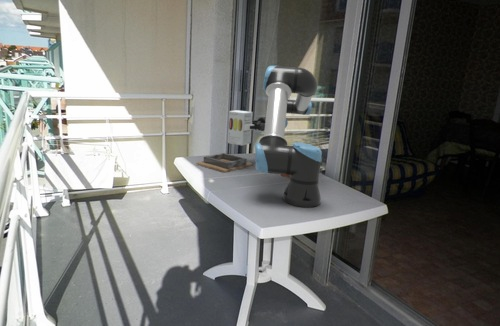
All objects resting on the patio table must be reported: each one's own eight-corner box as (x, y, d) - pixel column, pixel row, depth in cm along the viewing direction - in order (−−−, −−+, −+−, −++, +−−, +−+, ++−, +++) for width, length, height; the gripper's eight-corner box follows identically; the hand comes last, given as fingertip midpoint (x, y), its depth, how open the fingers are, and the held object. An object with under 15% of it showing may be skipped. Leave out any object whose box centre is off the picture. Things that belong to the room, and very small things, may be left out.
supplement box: (226, 143, 181) (228, 110, 177) (235, 140, 189) (237, 109, 185) (242, 145, 177) (244, 112, 172) (251, 143, 184) (253, 111, 180)
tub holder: (224, 172, 173) (224, 165, 172) (196, 164, 184) (196, 157, 183) (252, 165, 192) (253, 158, 191) (225, 158, 203) (225, 151, 202)
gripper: (280, 134, 187) (252, 136, 172) (250, 127, 203) (221, 129, 188) (282, 120, 185) (253, 121, 170) (251, 114, 201) (222, 115, 186)
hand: (236, 125), depth 179 cm, fingers closed on supplement box, 11 cm apart
